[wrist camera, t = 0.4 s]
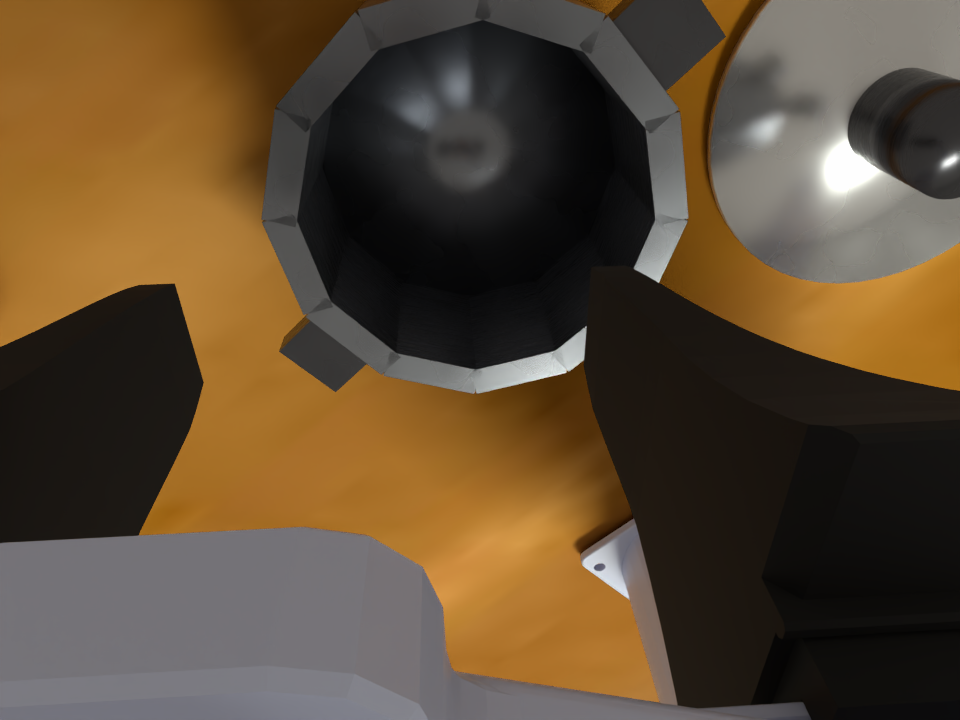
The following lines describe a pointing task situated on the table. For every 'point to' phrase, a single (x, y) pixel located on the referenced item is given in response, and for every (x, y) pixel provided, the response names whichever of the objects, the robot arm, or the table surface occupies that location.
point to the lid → (841, 136)
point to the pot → (476, 181)
